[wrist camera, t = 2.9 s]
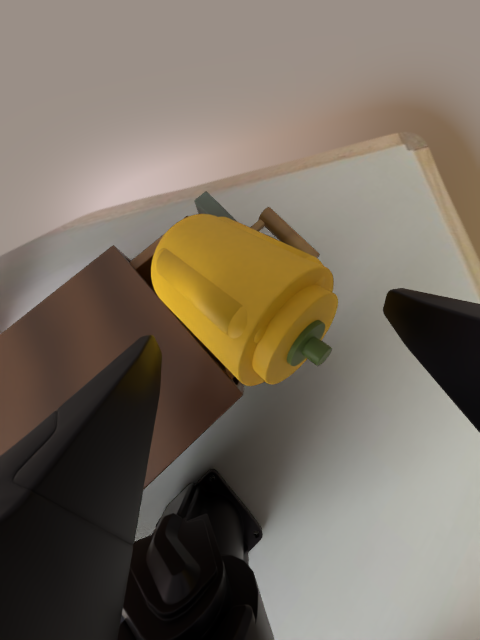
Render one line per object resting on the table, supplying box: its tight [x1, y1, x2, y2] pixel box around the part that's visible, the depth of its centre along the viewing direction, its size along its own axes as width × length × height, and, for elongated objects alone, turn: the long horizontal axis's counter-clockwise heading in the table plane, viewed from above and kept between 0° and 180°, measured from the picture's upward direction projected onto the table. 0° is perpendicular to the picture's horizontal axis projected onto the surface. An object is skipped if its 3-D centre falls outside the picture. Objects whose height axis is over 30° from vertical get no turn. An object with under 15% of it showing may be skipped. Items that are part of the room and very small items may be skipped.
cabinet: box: [0, 245, 244, 490], centre depth 17 cm, size 16×13×8 cm
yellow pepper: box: [151, 214, 338, 386], centre depth 12 cm, size 7×7×10 cm
